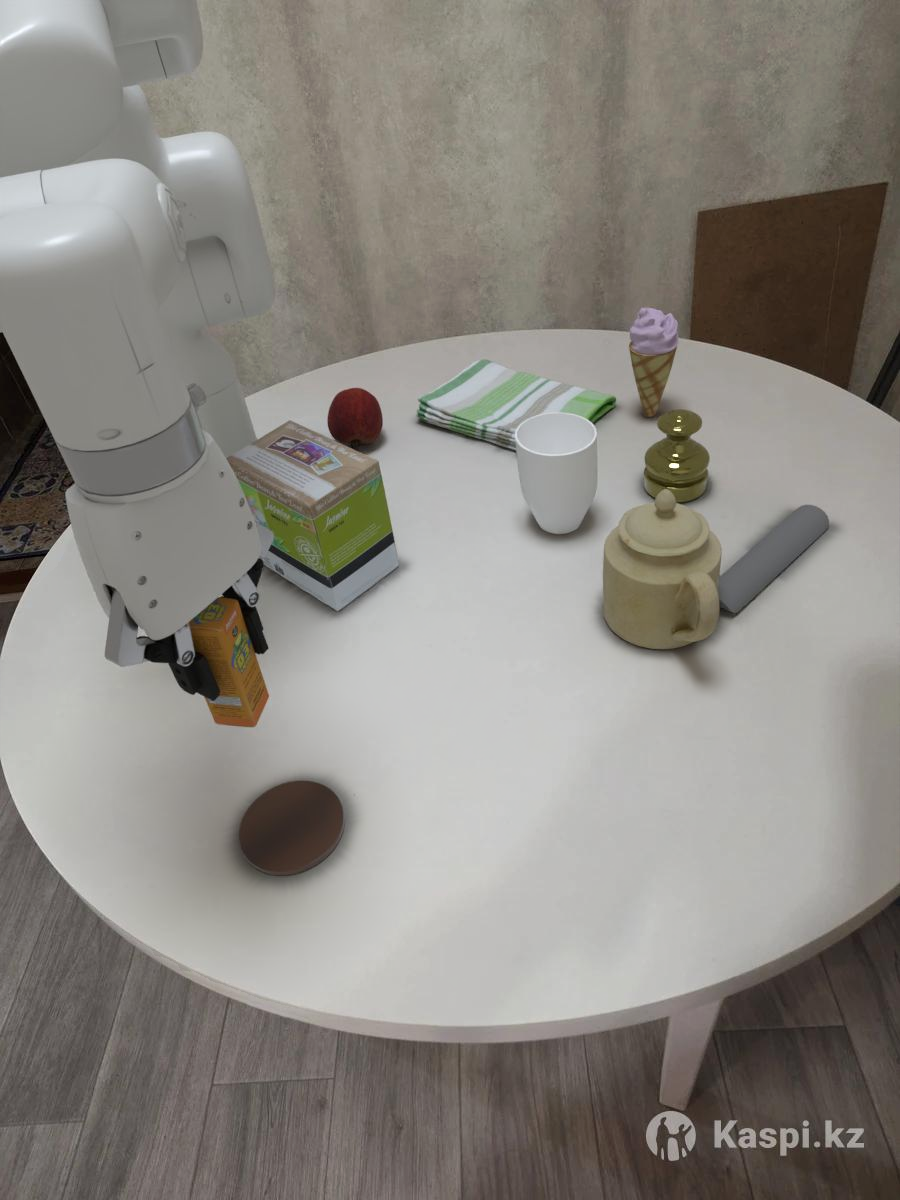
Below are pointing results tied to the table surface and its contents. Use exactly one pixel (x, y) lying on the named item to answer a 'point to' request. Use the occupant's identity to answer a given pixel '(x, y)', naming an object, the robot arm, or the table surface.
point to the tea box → (318, 512)
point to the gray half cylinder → (770, 557)
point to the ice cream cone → (652, 355)
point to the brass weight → (677, 458)
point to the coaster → (291, 827)
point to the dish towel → (504, 402)
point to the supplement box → (230, 663)
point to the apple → (355, 417)
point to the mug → (557, 468)
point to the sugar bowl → (661, 575)
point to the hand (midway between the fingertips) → (226, 666)
